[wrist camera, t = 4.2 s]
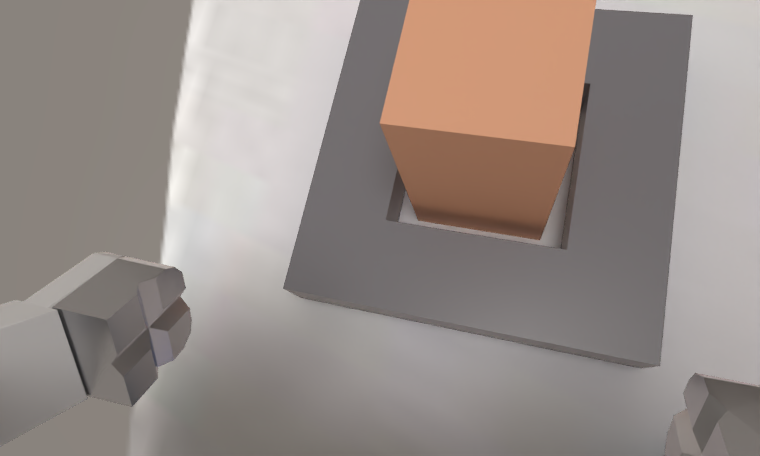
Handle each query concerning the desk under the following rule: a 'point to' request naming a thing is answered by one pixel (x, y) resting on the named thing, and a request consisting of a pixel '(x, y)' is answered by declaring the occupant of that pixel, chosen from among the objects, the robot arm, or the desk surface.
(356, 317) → the desk surface
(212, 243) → the desk surface
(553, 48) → the terracotta block
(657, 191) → the pocket holder
